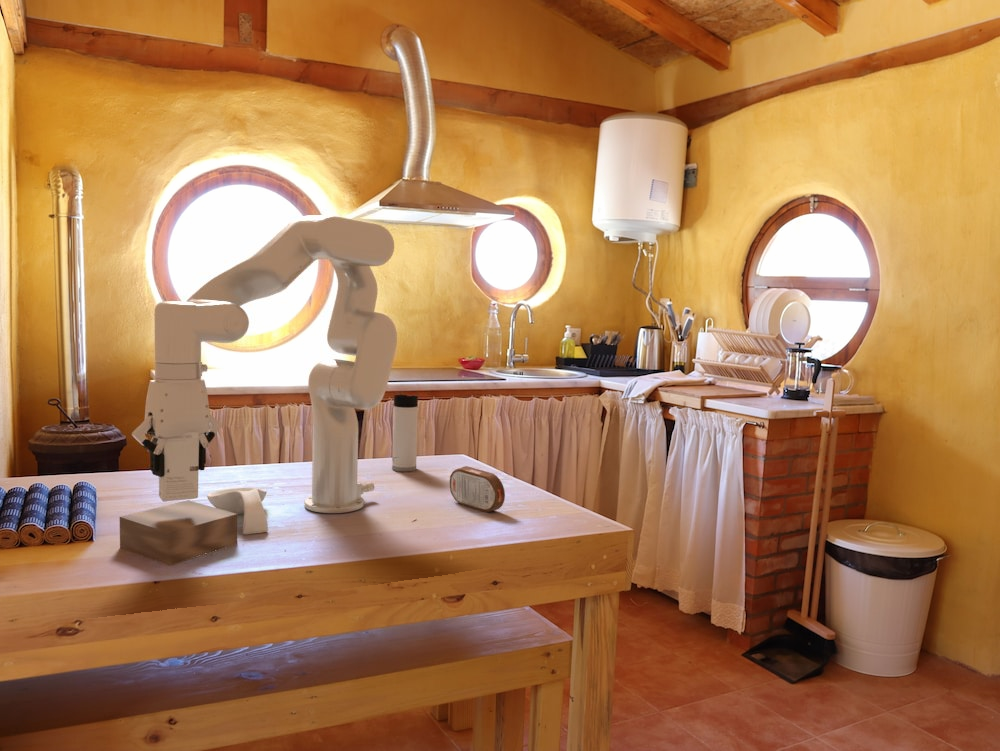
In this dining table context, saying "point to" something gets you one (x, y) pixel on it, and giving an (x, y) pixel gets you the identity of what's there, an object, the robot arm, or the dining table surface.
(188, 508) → the walnut block
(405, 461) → the travel mug
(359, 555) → the dining table surface
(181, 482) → the skincare box
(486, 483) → the tin
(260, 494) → the spoon rest
